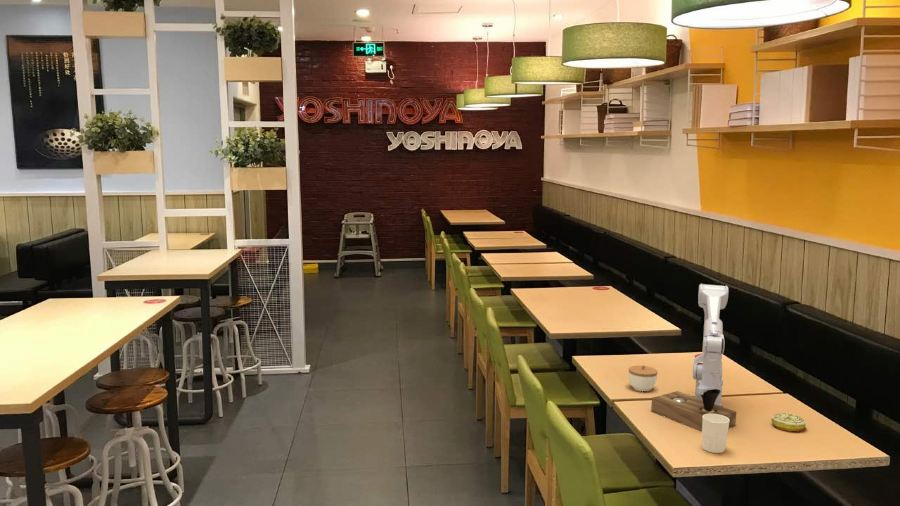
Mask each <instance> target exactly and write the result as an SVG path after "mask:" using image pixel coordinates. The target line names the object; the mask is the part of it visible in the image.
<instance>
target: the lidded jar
mask: <svg viewBox="0 0 900 506" xmlns="http://www.w3.org/2000/svg"><path fill="white" fill-rule="evenodd" d="M658 374H659V373H658V370H657V369H656V368H654V367H651V366H646V365H645V364H642V365H633V366H629V368H628V380H629V384H630V385H631V388H632V387H633V390H634V391H637V392H641V391H642V392H643V391H647V392H650V391H649V390H652V389H653V388H654V386H655V385H656V382H657V379H658ZM642 392H641V393H642ZM643 393H644V392H643Z"/></svg>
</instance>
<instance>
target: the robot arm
mask: <svg viewBox="0 0 900 506" xmlns="http://www.w3.org/2000/svg"><path fill="white" fill-rule="evenodd" d="M697 296H698V298H697V299H698V301H697V303H698V307H700V308H702V309H703V312H704V324H703V337H702V338H703V340H702V352H701V353H700V354H699V355H697V356H695V358H694V359H693V365H692V379H693V380H694V381H695V389H694V397H696V398H699V399H702V400H703V404H704V409H705V410H707V411H712V409H713V406H714V404H716V405H719V406H722V407H724V404H723V403H722V398H723V397H722V396H723V395H722V394H723V386H724V380H723V362H722V360H723V359H722V358H723V355H724V351H725V337H724V334H723V332H724V331H723V330H724V329H723V328H724V327H723V324H724V323H723V321H722V319H720V312H721V311H720V310H724V309H725V308H726V306H727V304H728V299H729V287H728V285H725V286H724V285H716V284H705V283H700V284H699V285H698V295H697Z"/></svg>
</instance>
